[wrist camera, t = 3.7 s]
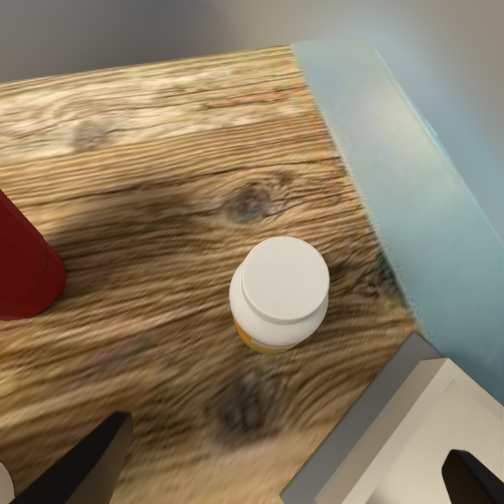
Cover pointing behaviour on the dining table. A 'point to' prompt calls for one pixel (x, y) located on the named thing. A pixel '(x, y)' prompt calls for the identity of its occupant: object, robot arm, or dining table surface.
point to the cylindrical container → (5, 486)
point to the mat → (356, 421)
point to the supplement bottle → (279, 294)
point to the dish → (420, 440)
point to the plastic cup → (25, 266)
